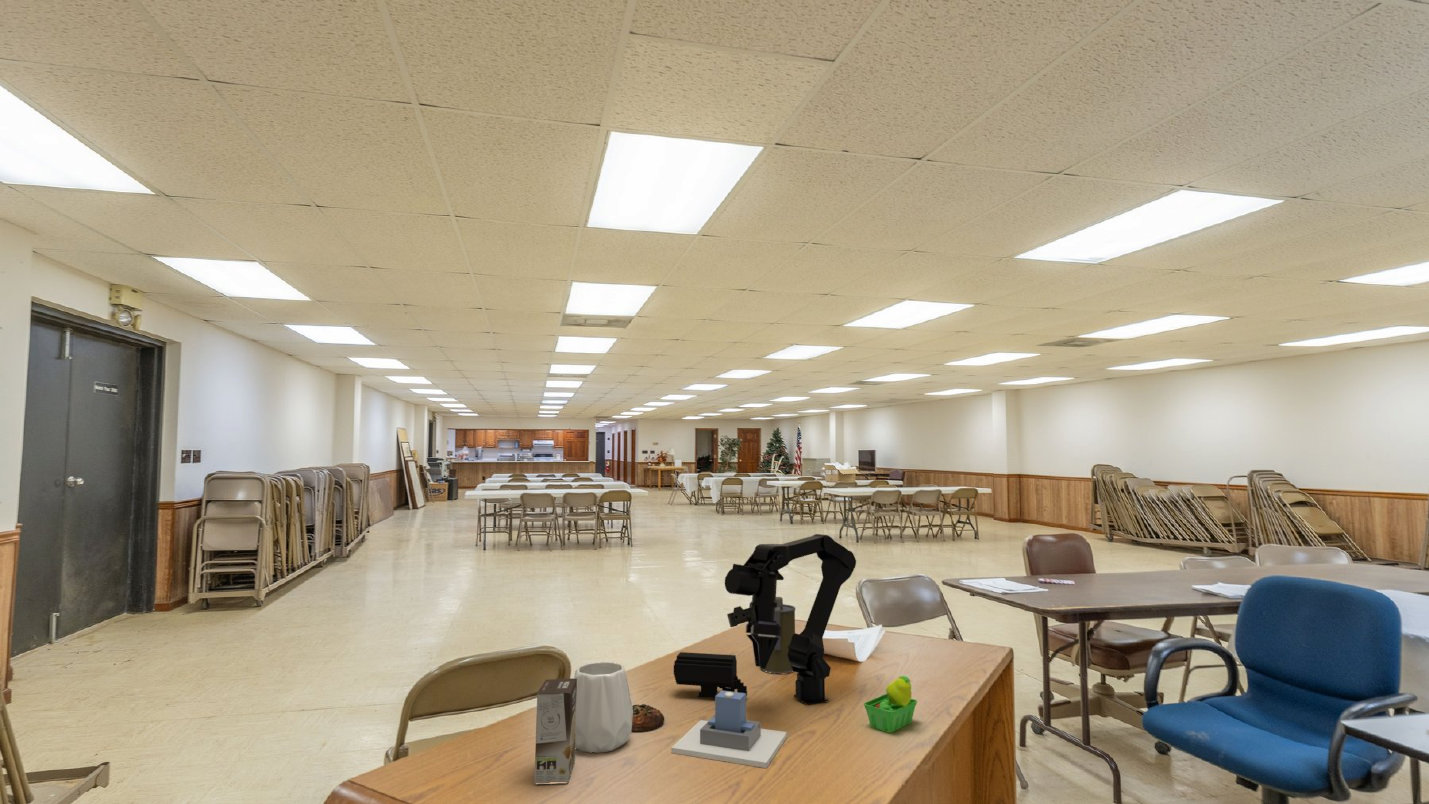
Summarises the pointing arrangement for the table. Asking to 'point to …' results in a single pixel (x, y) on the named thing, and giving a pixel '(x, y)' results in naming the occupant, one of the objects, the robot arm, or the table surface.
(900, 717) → the fruit basket
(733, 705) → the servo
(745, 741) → the plate
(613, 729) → the vase
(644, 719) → the bread roll
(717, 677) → the security camera
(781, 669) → the canister
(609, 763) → the table surface
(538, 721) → the coffee box
